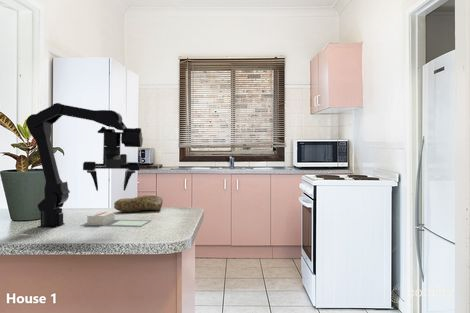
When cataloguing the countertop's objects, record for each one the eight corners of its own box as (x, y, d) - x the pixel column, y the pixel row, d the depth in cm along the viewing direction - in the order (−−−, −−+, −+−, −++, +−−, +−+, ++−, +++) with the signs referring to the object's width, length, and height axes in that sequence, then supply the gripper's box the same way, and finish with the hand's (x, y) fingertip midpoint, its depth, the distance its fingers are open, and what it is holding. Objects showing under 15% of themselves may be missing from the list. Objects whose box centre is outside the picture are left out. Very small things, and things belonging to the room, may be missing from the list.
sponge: (160, 210, 177) (116, 203, 173) (164, 194, 175) (119, 186, 172) (159, 221, 164) (111, 213, 160) (162, 204, 162) (114, 195, 159)
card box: (87, 224, 136) (87, 215, 136) (99, 220, 145) (99, 211, 145) (103, 225, 135) (103, 215, 135) (114, 220, 144) (114, 211, 144)
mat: (79, 226, 134) (79, 225, 134) (96, 220, 146) (96, 218, 146) (140, 228, 132) (140, 226, 132) (152, 221, 144) (152, 220, 144)
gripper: (84, 145, 124) (83, 193, 125) (142, 147, 132) (141, 192, 132) (83, 145, 135) (82, 190, 135) (137, 147, 142) (136, 189, 142)
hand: (110, 190), depth 136 cm, fingers open, 9 cm apart
